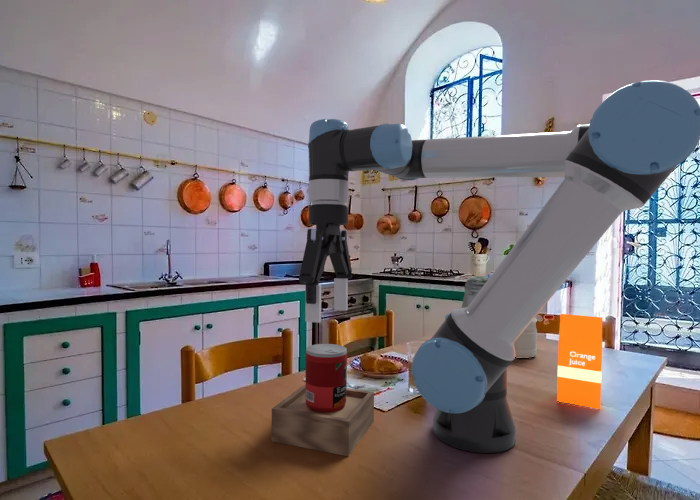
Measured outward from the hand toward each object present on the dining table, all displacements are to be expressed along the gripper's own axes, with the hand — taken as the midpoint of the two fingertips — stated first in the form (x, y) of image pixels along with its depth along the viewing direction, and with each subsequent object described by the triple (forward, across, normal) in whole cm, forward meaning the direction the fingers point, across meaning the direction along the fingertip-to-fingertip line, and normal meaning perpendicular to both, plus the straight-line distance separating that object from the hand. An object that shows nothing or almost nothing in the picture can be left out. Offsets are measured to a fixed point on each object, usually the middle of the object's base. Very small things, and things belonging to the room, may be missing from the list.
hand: (328, 315), depth 82 cm
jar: (+23, -74, +36) cm, 85 cm away
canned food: (+18, 0, 0) cm, 18 cm away
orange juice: (+23, -36, +48) cm, 65 cm away
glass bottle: (+23, -38, +26) cm, 51 cm away
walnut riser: (+22, 0, 0) cm, 22 cm away
